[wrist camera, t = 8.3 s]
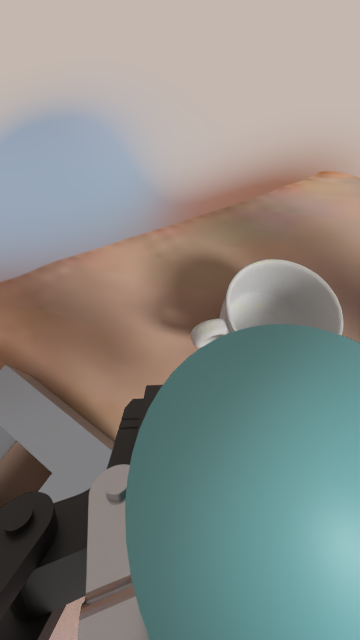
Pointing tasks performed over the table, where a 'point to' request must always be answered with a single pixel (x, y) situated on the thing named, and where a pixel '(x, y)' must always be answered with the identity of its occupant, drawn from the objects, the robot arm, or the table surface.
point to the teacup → (273, 301)
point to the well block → (51, 435)
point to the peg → (250, 491)
